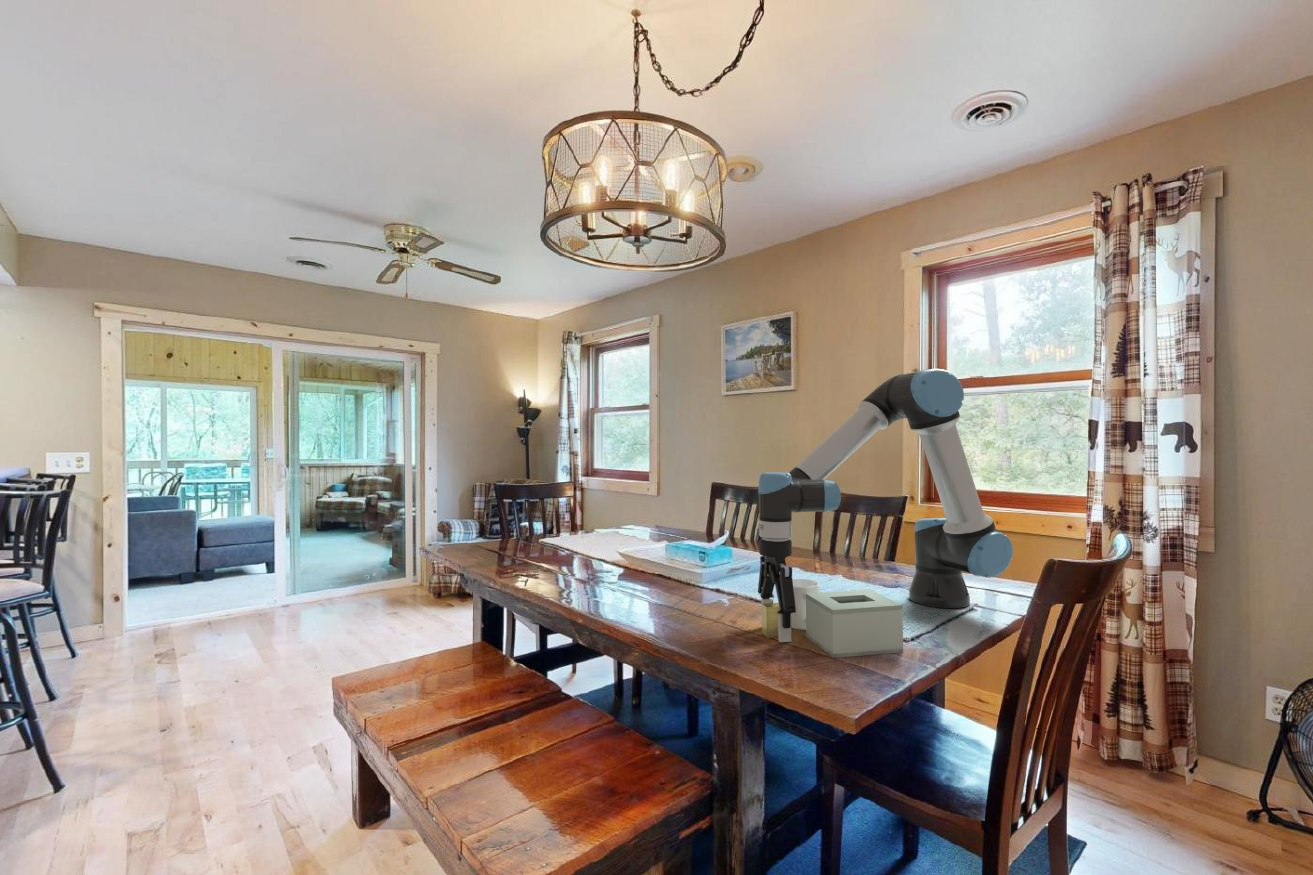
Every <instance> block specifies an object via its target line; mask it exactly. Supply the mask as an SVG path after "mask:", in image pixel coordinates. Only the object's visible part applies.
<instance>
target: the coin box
mask: <svg viewBox="0 0 1313 875" xmlns="http://www.w3.org/2000/svg"><path fill="white" fill-rule="evenodd" d="M903 617H904V613H903V604H901V603H899V602H897V601H895V600H893V599H891V598H889V597H886V596H885V595H882V594H881V593H878V592H876V591H874V590H871V589H870V588H869V589H855V590H854V589H853V590H837V591H823V592H822V591H821V592H820V591H819V593H806V630H805V632H806V638H807V639H809V640H810V641H811V642H813V644H815V645H816V646H818V648H820V649H822V650H823V651H824V652H825V653H826V654H828V656H831V657H832V659H837V658H838V659H839V658H849V657H859V656H862V657H863V656H872V655H873V656H874V655H885V654H896V653H897V654H899V653H903V652H904V618H903Z"/></svg>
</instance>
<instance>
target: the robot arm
mask: <svg viewBox="0 0 1313 875" xmlns="http://www.w3.org/2000/svg"><path fill="white" fill-rule="evenodd" d="M964 392H965V391H964V388H963V385H962V383H961V381H960V380H959V379H958V378H957V377H956V375H955V374H953V373H951V372H949V371H948V370H945V369H940V368H930V369H927V368H926V369H922V370H917V371H913V372H908V373H901V374H897V375H894V376H892V377H890V378H888V379H887V380H885V381H883V383H881V384H880V385H879V386H877V387H876V388H875V389H874V390H873V391H871V392H870V394H868V395H867V396H866V397H865V398H864V399H863V400H861V401H860V402H859V403H858V409H857V410H856V411H854V413H853V414H851V416H849V418H848V419H846V420H845V421H844V422H843V423H842V424H840V426H839V427H837V428H836V430H834V431H833V432H832V433H831V434H830V435H829V436H828V437H826V438H825V439H824V440H823V441H822V442H821V443H819V445H818V446H817V447H816V448H815V449H813V450H812V451H811V452H810V453H809V454H807V456H806V457H805V458H803V459H802V460H800V462H799V463H798V464H797V465H796V466H795V467H793V468H792V469H791V470H790V471H788V472H780V471H779V472H774V471H772V472H771V471H769V472H768V471H767V472H763V473H761V474H760V476H759V477H758V478H759V481H758V490H757V491H758V492H757V493H758V512H759V513H758V519H759V520H758V522H759V523H758V524H757V527H756V528H757V529H758V531H759V532H758V533H759V534H758V536H759V537H760V538H759V540H758V546H759V547H758V553H759V554H760V557H759V560H760V562H759V563H760V567H759V578H758V585H757V586H758V587H757V593H758V594H759V595H760V598H761V605H762V604H763V603H774V599H773V598H775V595H774V589H775V591H776V596H777V601H778V602H779V607H780V610H779V611H778V612H777V613H778V633H779V637H778V642H779V643H788V642H792V636H791V635H792V628H791V613H795V612H796V607H795V598H794V590H793V581H792V579H793V568H792V566H787V562H786V558H789V557H791V556H792V554H793V550H792V549H793V548H792V547H793V545H792V544H793V543H792V540H791V538H792V537H793V520H792V519H793V513H814V512H817V513H818V512H822V513H825V512H832V511H833V512H834V511H836V510H837V509H838V508H839V506H840V505H841V500H842V498H841V497H842V495H841V494H842V493H841V489H840V486H839V484H838V483H837V482H836V481H835V480H832V479H827V478H828V477H829V476H830V475H831V474H832V473H834V471H835V470H837V469H838V468H840V466H841V465H842V464H844V463H845V461H846V460H848V459H849V458H850V457H851V456H852V455H854V453H855V452H856V451H857V450H858V449H860V448H861V447H862V446H863V444H864V445H865V443H866V442H867V441H869V440H870V438H872V437H873V435H875V434H876V433H877V432H878V431H879V430H881V431H883V430H885V429H887V428H888V427H890V426H891V425H892V424H893V423H895V422H897V421H899V420H902V419H907V422H908V425H909V428H910V430H911V431H913V432H914V433H916V434H918V435H919V438H920V441H921V445H922V447H923V450H924V453H925V457H926V460H927V463H928V465H929V469H930V472H931V474H932V475H931V476H932V479H933V482H934V484H935V488H936V491H937V494H938V496H939V497H938V498H939V500H940V504H941V506H942V510H943V513H944V516H945V517H934V518H933V517H931V518H919V519H918V520H916V522H915V525H914V550H915V551H914V556H915V558H914V559H915V572H914V575H913V577H912V580H911V584H910V587H909V589H908V598H909V599H910V600H911V601H912V602H914V603H917V604H918V605H919V604H920V605H923V606H928V607H933V608H943V609H961V608H966V607H969V606H970V604H971V596H970V593H969V591H968V588H967V585H966V581H965V580H964V577H963V572H964V573H968V574H970V575H973V576H974V577H982V578H989V579H990V578H995V577H998V576H1000V575H1001V574H1003V573H1004V572H1005V571H1006V570H1007V569H1008V567H1009V565H1010V562H1012V559H1013V555H1014V549H1013V548H1014V547H1013V543H1012V541H1011V539H1010V537H1008V536H1007V535H1006V534H1004V533H1003V532H1001V531H997V528H996V525H995V521H994V519H993V517H991V516H990V515H988V514H986V513H984V509H983V507H982V504H981V500H980V497H979V494H978V491H977V488H976V485H975V481H974V478H973V475H972V472H971V469H970V466H969V463H968V459H967V457H966V452H965V450H964V448H963V444H962V440H961V438H960V434H959V431H958V427H957V422H958V421H959V419H960V418H961V415H960V411H959V410H960V409H961V408H962V406H963V401H964V400H965V394H964ZM778 602H777V603H778Z"/></svg>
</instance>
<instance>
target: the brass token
mask: <svg viewBox="0 0 1313 875" xmlns="http://www.w3.org/2000/svg"><path fill="white" fill-rule="evenodd" d="M779 610H780V607H779V602H773V603H763V604H762V603H761V629H762V630H761V631H762V632H761V633H762V634H763V635H764V636H765V637H766V638H779V633H778V613H777V612H778V611H779ZM791 637H792V634H791Z"/></svg>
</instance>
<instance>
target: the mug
mask: <svg viewBox="0 0 1313 875" xmlns="http://www.w3.org/2000/svg"><path fill="white" fill-rule="evenodd" d="M792 581H793V590H794V598H795V607H796V612H795V613H791V629H795V630H800V631H802V630H803V631H806V593H820V583H819V582H818V581H816V580H814V579H813V580H812V579H808V578H792Z"/></svg>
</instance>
